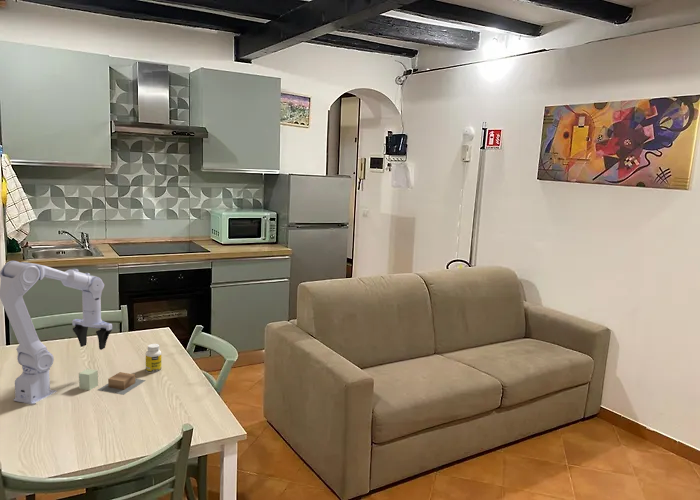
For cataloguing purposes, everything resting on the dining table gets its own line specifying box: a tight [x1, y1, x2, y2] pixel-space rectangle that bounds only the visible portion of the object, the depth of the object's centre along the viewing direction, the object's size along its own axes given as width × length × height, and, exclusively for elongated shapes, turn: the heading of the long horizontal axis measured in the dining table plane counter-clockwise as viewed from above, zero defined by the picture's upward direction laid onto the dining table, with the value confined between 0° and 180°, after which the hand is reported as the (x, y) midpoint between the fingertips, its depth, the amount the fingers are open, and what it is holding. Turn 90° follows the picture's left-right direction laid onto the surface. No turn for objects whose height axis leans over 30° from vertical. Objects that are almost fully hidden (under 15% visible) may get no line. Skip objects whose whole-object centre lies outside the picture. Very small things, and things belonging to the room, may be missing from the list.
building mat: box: [97, 378, 146, 396], centre depth 185 cm, size 12×10×1 cm
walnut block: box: [107, 371, 136, 390], centre depth 184 cm, size 6×6×3 cm
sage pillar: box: [78, 368, 99, 391], centre depth 182 cm, size 4×4×6 cm
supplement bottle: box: [145, 343, 162, 374], centre depth 198 cm, size 5×5×10 cm
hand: (92, 347), depth 191 cm, fingers open, 7 cm apart
